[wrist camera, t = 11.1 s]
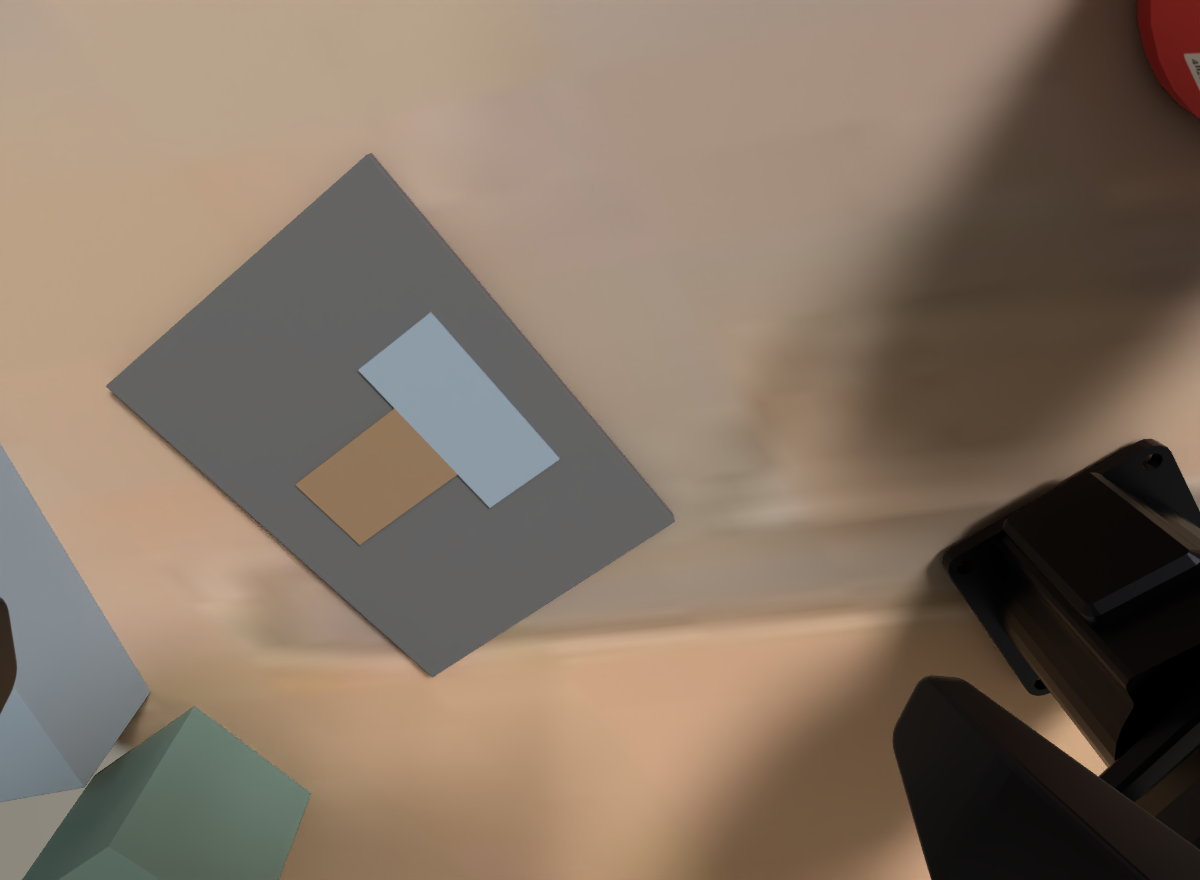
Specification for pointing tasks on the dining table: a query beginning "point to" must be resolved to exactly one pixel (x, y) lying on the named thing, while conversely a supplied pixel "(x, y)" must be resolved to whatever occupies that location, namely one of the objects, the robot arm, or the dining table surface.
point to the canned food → (1173, 47)
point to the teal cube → (179, 813)
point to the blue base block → (55, 658)
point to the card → (393, 426)
